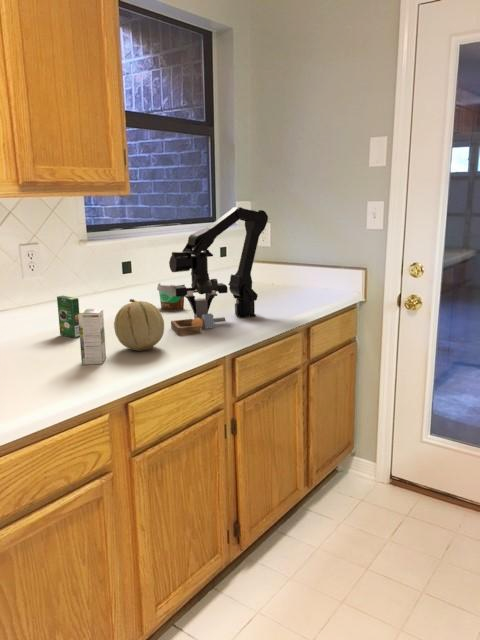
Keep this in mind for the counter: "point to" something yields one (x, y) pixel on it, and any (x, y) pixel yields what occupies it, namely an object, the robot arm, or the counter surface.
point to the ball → (197, 322)
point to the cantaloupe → (139, 325)
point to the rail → (219, 319)
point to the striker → (203, 313)
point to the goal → (185, 327)
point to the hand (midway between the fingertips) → (200, 313)
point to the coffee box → (68, 316)
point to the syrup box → (92, 336)
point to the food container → (170, 298)
